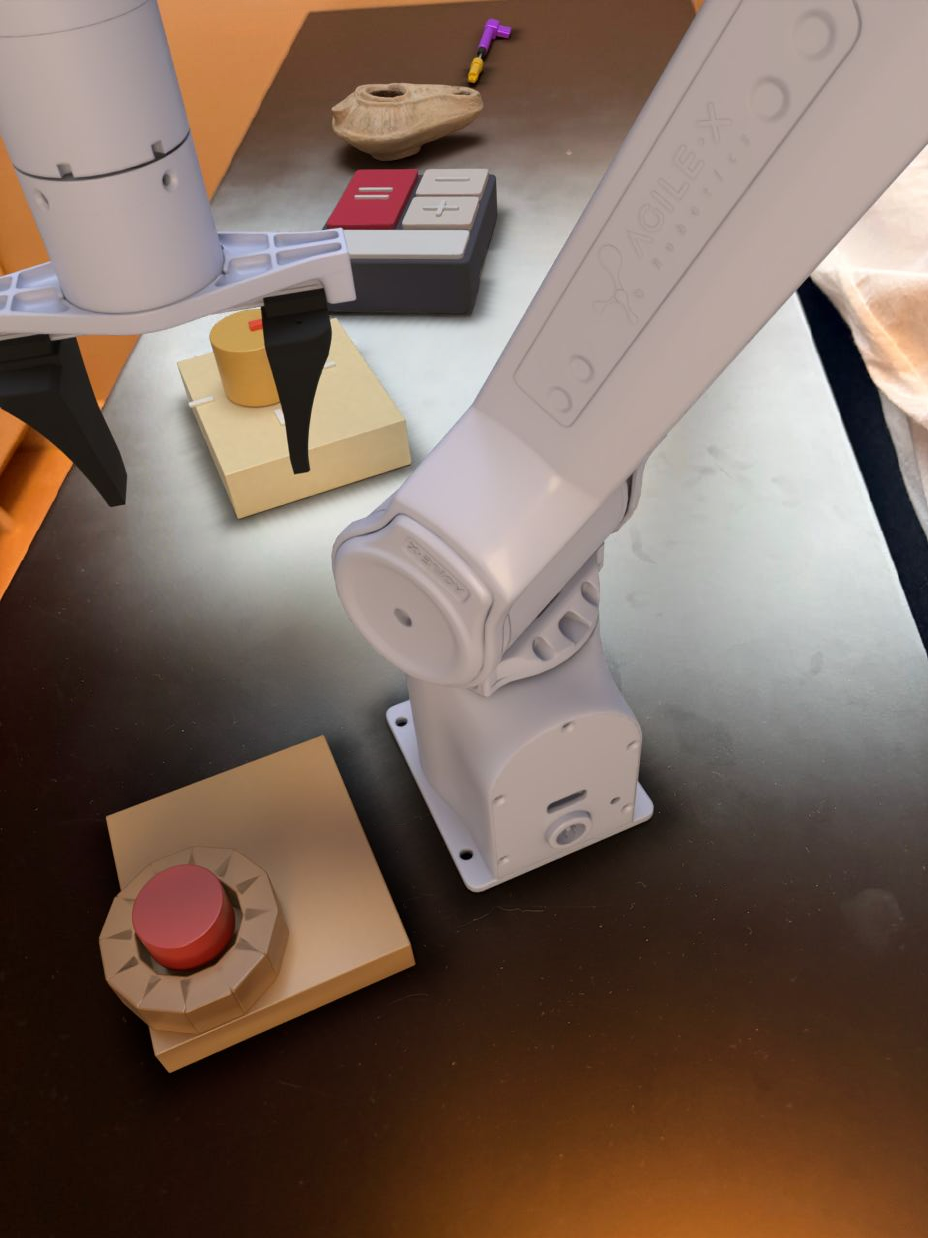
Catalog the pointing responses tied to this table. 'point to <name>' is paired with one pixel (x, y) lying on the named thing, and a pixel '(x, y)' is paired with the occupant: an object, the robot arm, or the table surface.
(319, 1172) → the table surface
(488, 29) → the purple yellow angled rod
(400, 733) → the robot arm
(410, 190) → the calculator
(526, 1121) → the table surface
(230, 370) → the dimmer knob
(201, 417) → the panel
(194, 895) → the power button
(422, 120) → the pottery oil lamp
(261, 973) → the button base
